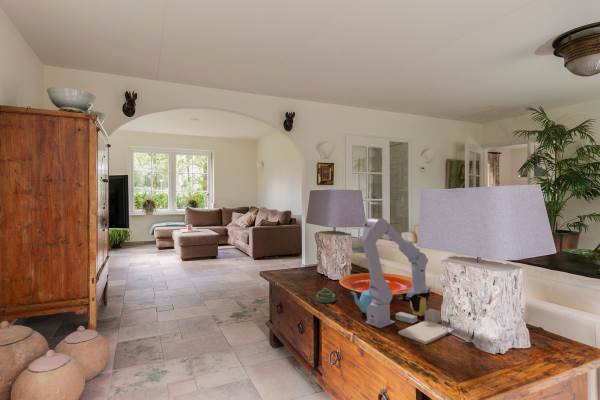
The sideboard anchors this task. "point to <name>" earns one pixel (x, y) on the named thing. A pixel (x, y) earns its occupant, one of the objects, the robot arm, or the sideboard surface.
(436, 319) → the grey cube
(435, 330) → the cream board
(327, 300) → the decorative artifact
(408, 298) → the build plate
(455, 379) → the sideboard surface
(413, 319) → the blue-grey slab
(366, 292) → the teapot
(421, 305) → the mustard block
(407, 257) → the robot arm
